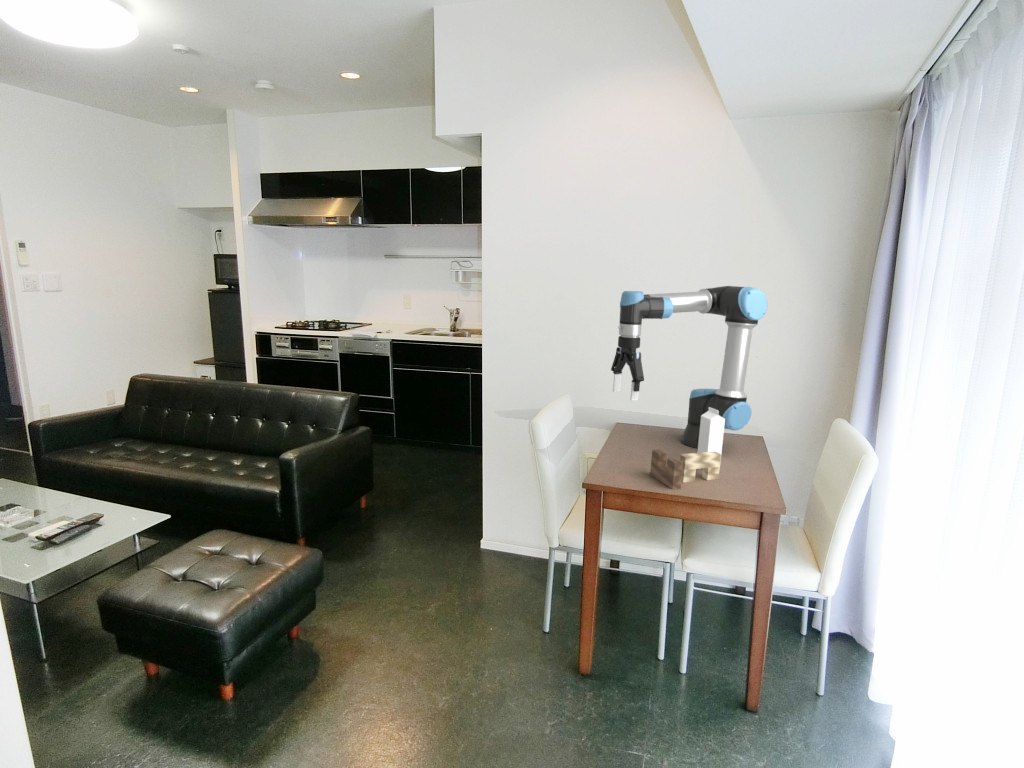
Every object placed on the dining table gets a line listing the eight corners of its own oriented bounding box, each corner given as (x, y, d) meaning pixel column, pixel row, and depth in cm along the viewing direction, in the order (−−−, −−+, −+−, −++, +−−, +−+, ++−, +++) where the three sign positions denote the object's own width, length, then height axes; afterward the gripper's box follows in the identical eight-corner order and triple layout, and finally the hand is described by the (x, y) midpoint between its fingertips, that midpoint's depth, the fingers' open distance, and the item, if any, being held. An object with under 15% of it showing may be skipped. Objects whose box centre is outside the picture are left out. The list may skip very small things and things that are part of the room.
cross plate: (713, 476, 205) (715, 451, 203) (718, 479, 202) (721, 454, 200) (678, 479, 201) (680, 454, 199) (683, 482, 198) (685, 457, 196)
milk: (705, 470, 210) (711, 411, 206) (695, 465, 216) (701, 407, 211) (720, 469, 212) (726, 410, 207) (710, 463, 218) (715, 406, 213)
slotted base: (657, 473, 205) (659, 449, 204) (680, 488, 192) (682, 462, 191) (650, 474, 204) (652, 449, 203) (672, 489, 191) (674, 462, 190)
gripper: (604, 331, 214) (600, 388, 218) (636, 340, 190) (632, 404, 195) (622, 331, 216) (619, 388, 220) (657, 340, 193) (652, 403, 197)
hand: (625, 396), depth 207 cm, fingers open, 13 cm apart
